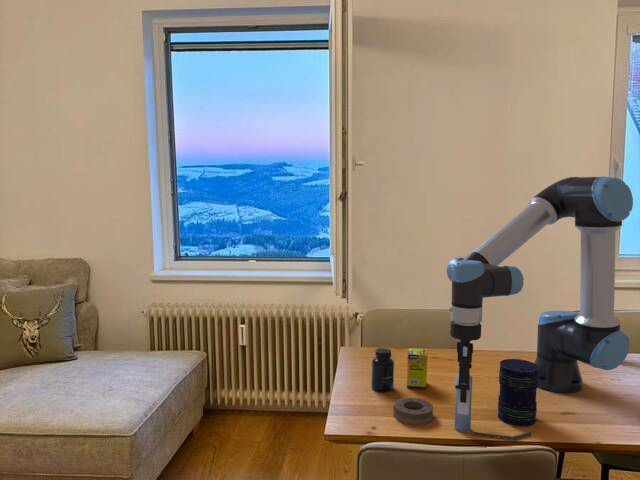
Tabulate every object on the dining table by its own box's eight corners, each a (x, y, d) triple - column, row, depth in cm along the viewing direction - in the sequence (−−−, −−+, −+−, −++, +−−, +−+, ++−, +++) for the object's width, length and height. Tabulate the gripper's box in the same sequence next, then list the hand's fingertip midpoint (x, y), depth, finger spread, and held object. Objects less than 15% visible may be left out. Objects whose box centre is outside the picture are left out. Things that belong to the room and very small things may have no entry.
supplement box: (426, 389, 162) (427, 355, 160) (406, 388, 163) (407, 354, 162) (426, 382, 167) (427, 349, 166) (407, 381, 169) (408, 347, 167)
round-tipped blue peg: (470, 426, 138) (472, 367, 136) (470, 433, 134) (472, 372, 132) (454, 424, 139) (456, 365, 137) (454, 431, 135) (456, 371, 133)
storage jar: (493, 409, 148) (495, 358, 146) (530, 411, 147) (532, 359, 145) (502, 426, 138) (504, 371, 136) (541, 428, 137) (544, 372, 135)
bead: (433, 410, 147) (433, 400, 147) (431, 426, 138) (431, 415, 137) (396, 406, 150) (396, 395, 150) (391, 422, 140) (391, 411, 140)
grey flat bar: (531, 434, 134) (531, 432, 134) (533, 442, 129) (533, 440, 129) (472, 427, 137) (472, 425, 137) (472, 435, 133) (472, 432, 133)
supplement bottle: (388, 394, 158) (388, 355, 157) (367, 389, 162) (368, 351, 161) (397, 386, 164) (397, 349, 163) (377, 382, 168) (377, 345, 166)
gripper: (452, 309, 146) (449, 383, 149) (449, 334, 122) (445, 421, 125) (480, 311, 144) (477, 386, 147) (482, 337, 120) (479, 426, 123)
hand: (462, 402), depth 136 cm, fingers open, 13 cm apart
